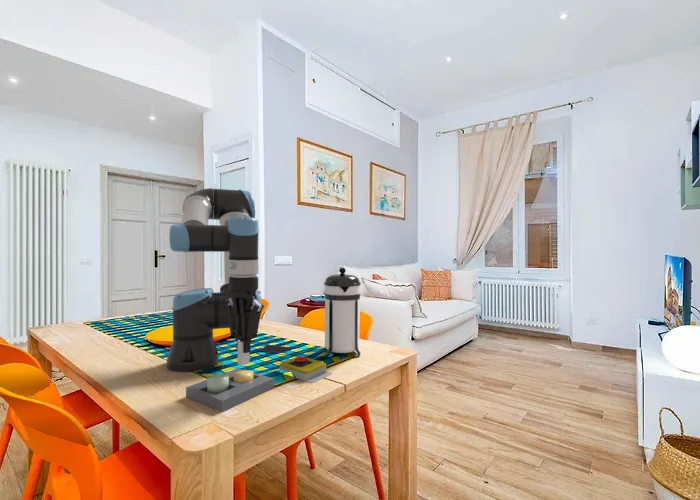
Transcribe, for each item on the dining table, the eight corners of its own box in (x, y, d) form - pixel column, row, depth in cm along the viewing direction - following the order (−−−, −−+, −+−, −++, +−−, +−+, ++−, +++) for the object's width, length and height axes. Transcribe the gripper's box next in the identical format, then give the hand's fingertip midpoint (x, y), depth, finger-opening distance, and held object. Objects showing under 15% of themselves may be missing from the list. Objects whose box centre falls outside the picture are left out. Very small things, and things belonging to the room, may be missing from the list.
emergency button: (296, 351, 114) (333, 360, 105) (296, 364, 114) (333, 375, 105) (274, 358, 106) (311, 369, 97) (274, 373, 106) (311, 385, 97)
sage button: (202, 390, 87) (202, 378, 87) (220, 384, 91) (220, 372, 91) (215, 395, 84) (215, 383, 84) (233, 388, 88) (233, 376, 88)
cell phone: (266, 346, 133) (266, 344, 133) (299, 350, 129) (299, 348, 129) (254, 352, 126) (254, 349, 126) (289, 356, 122) (289, 354, 122)
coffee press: (373, 351, 126) (374, 267, 126) (343, 362, 114) (343, 269, 114) (338, 342, 138) (338, 265, 137) (307, 351, 126) (307, 267, 125)
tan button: (229, 385, 94) (229, 374, 94) (244, 379, 98) (244, 369, 98) (242, 390, 91) (242, 378, 91) (257, 383, 95) (257, 372, 95)
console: (186, 397, 88) (186, 387, 88) (238, 377, 101) (238, 368, 101) (222, 411, 80) (222, 400, 80) (273, 387, 94) (273, 378, 94)
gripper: (215, 275, 94) (215, 363, 95) (249, 278, 87) (249, 373, 88) (238, 272, 101) (238, 355, 101) (271, 276, 94) (271, 364, 94)
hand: (243, 363), depth 95 cm, fingers closed
